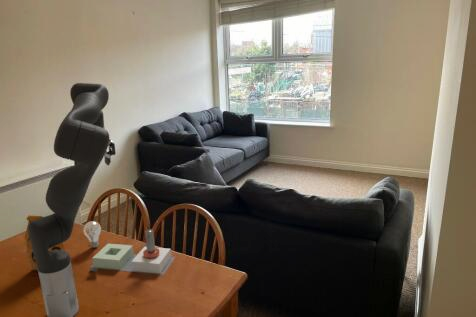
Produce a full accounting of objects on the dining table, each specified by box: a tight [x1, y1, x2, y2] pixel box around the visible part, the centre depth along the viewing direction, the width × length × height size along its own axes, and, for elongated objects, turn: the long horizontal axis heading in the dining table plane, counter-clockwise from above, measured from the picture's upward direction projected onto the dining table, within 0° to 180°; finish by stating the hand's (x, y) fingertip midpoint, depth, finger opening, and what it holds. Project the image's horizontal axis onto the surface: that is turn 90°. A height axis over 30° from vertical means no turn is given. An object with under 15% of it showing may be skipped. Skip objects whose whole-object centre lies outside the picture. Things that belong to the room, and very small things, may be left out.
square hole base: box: [89, 243, 176, 276], centre depth 142 cm, size 30×12×6 cm, turn 78°
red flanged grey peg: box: [143, 228, 160, 259], centre depth 139 cm, size 6×6×14 cm
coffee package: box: [24, 214, 66, 272], centre depth 140 cm, size 10×12×22 cm
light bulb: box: [83, 220, 102, 249], centre depth 156 cm, size 7×7×12 cm
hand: (96, 168), depth 133 cm, fingers open, 8 cm apart
